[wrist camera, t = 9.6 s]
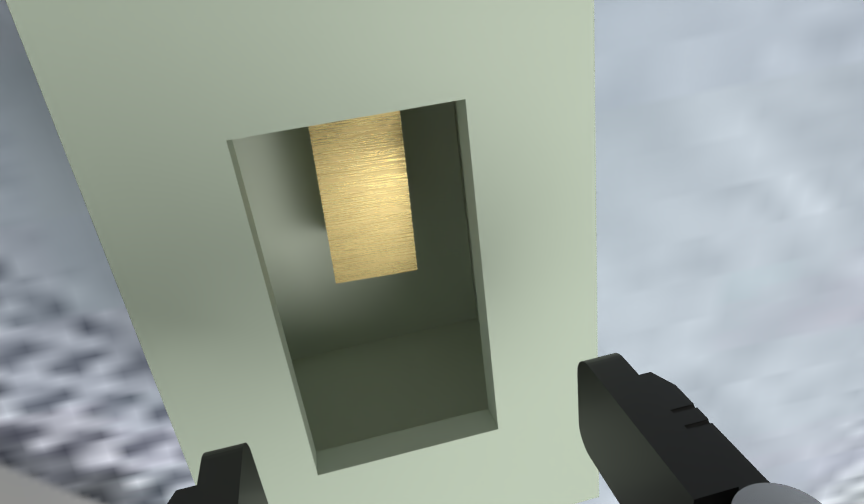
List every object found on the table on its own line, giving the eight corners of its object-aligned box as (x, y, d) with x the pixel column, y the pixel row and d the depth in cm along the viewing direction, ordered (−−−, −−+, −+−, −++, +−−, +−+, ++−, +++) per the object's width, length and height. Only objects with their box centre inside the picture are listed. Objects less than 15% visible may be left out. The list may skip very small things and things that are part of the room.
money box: (131, -31, 22) (-10, -39, 11) (453, -73, 24) (592, -114, 13) (254, 375, 30) (239, 597, 19) (491, 320, 32) (598, 497, 21)
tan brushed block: (306, 118, 20) (335, 283, 22) (399, 106, 20) (417, 269, 23) (305, 91, 24) (330, 231, 27) (381, 82, 25) (398, 221, 27)
